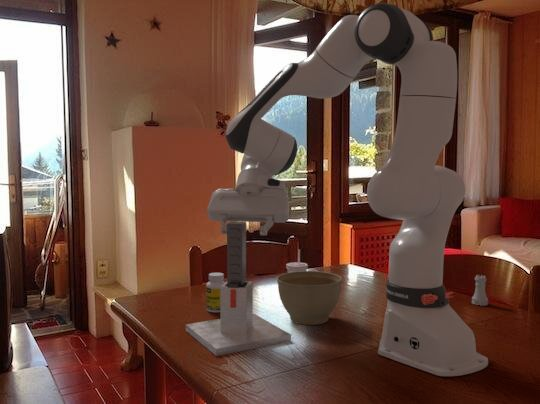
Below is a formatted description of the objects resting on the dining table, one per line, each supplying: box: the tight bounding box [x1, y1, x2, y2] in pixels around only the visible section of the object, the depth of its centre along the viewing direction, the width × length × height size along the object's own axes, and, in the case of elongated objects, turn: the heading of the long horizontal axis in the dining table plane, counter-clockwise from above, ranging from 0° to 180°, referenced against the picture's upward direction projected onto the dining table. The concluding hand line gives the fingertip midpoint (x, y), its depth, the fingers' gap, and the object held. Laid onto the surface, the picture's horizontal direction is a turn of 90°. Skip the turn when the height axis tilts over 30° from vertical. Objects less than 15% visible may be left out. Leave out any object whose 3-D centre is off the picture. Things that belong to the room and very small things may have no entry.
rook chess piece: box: [471, 274, 489, 307], centre depth 144 cm, size 4×4×8 cm
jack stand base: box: [185, 280, 292, 357], centre depth 117 cm, size 18×18×13 cm
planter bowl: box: [276, 270, 343, 326], centre depth 130 cm, size 16×16×11 cm
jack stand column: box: [226, 221, 247, 287], centre depth 117 cm, size 4×4×24 cm
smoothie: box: [285, 249, 309, 273], centre depth 151 cm, size 6×6×14 cm
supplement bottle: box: [205, 272, 226, 313], centre depth 138 cm, size 5×5×10 cm
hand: (243, 233), depth 122 cm, fingers open, 8 cm apart
